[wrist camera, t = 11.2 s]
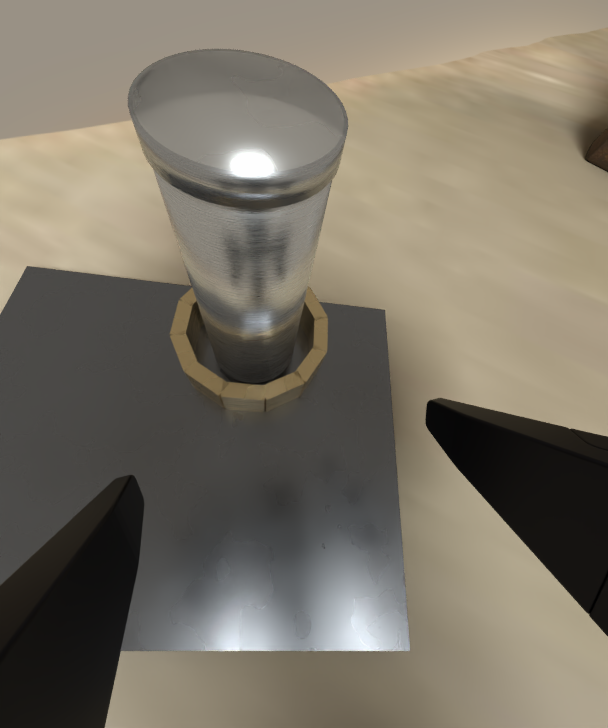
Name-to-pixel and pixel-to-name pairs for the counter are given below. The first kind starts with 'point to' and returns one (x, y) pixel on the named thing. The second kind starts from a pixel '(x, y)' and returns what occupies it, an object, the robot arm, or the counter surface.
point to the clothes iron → (599, 151)
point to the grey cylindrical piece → (242, 190)
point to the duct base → (208, 464)
